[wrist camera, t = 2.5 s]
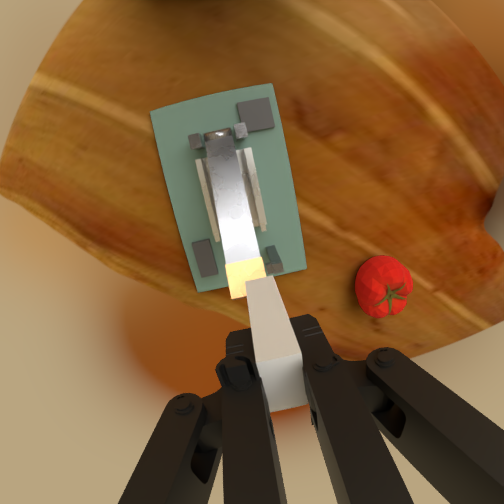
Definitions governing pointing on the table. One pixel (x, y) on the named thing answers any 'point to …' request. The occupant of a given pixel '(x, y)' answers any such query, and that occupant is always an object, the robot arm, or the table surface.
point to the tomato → (382, 286)
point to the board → (267, 168)
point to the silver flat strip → (233, 213)
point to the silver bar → (249, 184)
